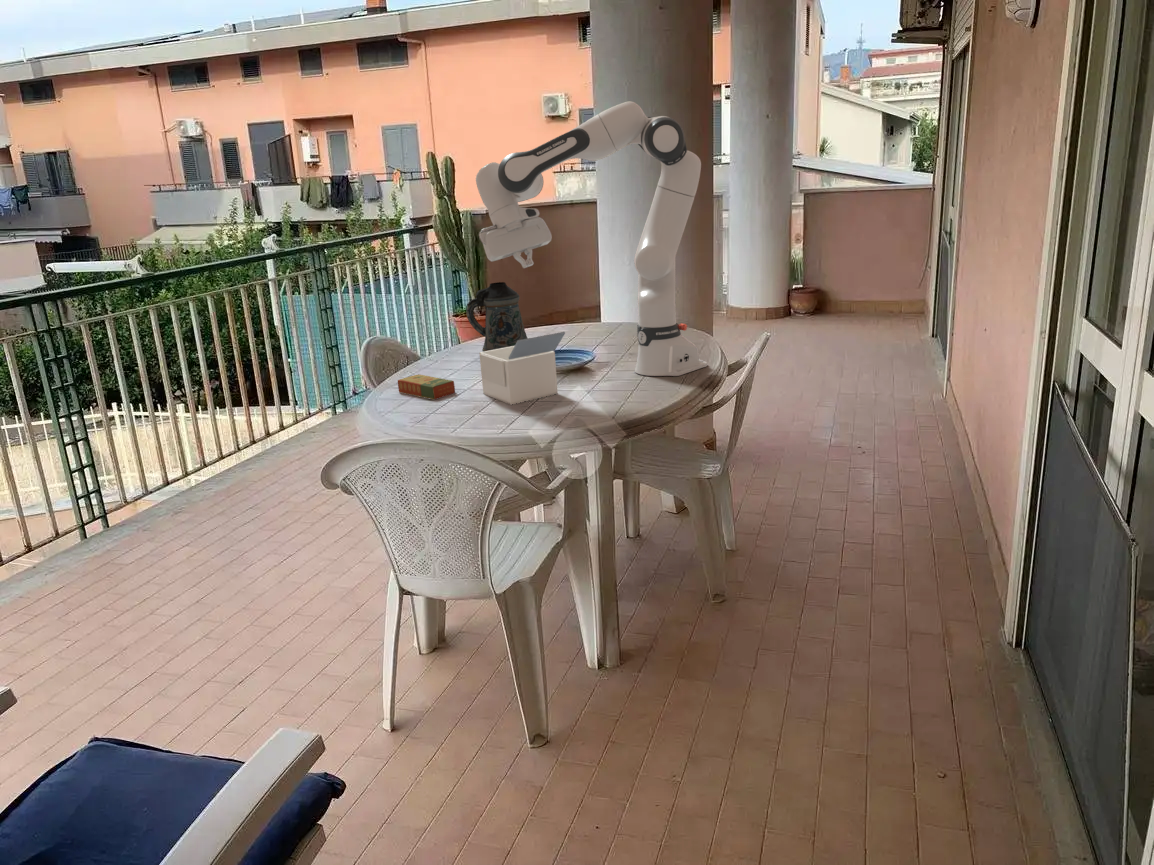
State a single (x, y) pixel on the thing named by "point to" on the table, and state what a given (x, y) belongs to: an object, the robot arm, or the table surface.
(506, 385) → the shipping box
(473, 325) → the beer stein
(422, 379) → the carton
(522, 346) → the flap
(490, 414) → the table surface
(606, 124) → the robot arm
